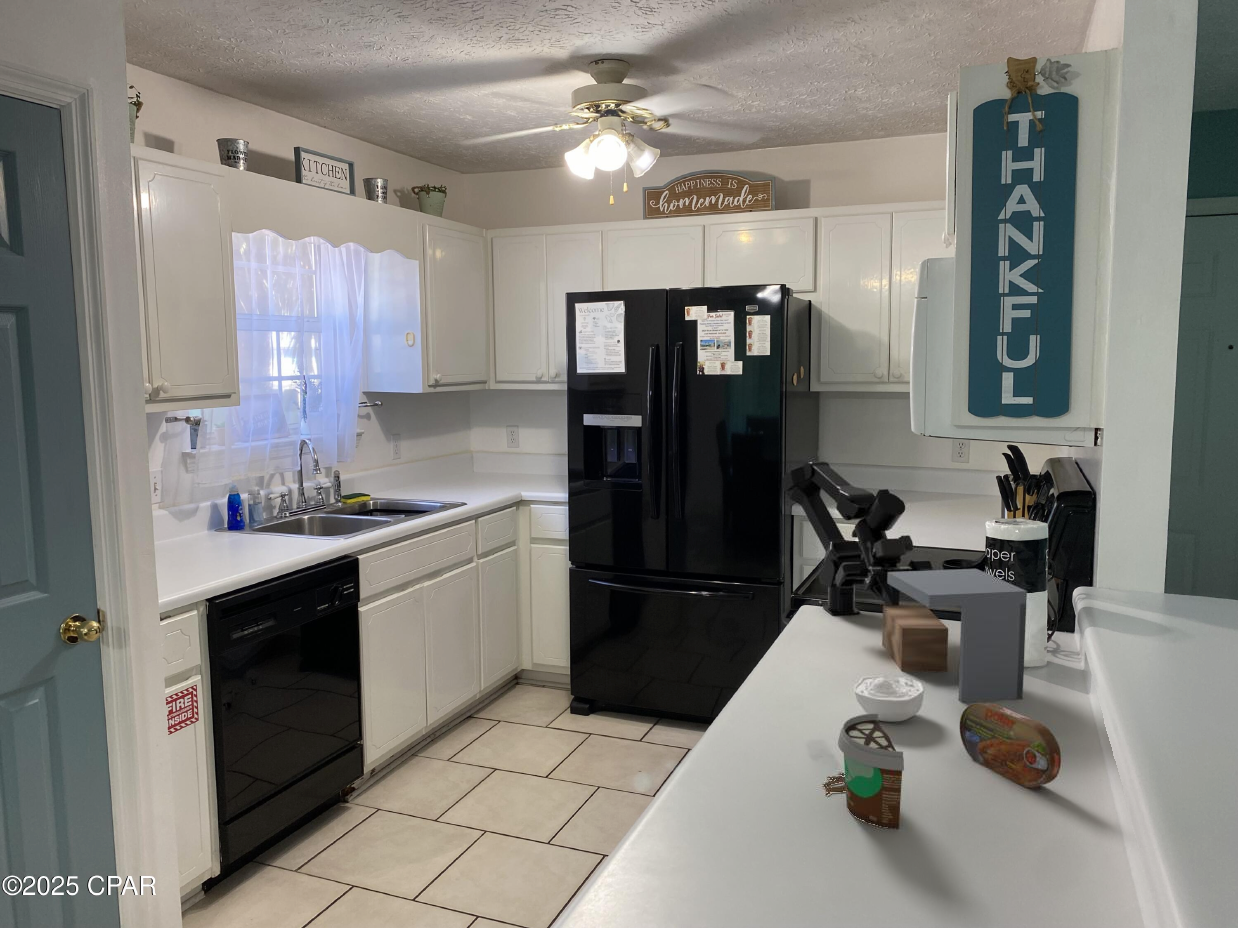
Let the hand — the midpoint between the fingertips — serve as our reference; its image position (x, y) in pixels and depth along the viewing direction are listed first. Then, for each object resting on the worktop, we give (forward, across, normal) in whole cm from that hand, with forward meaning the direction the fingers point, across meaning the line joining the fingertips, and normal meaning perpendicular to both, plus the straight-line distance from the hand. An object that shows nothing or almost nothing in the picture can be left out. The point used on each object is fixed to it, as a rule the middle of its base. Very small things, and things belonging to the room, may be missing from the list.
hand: (896, 610), depth 172 cm
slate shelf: (+20, 0, -11) cm, 23 cm away
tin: (+43, -8, -33) cm, 55 cm away
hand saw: (+38, -31, -27) cm, 56 cm away
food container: (+48, -31, -38) cm, 69 cm away
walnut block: (+10, 0, -1) cm, 11 cm away
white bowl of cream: (+29, -16, -19) cm, 38 cm away
